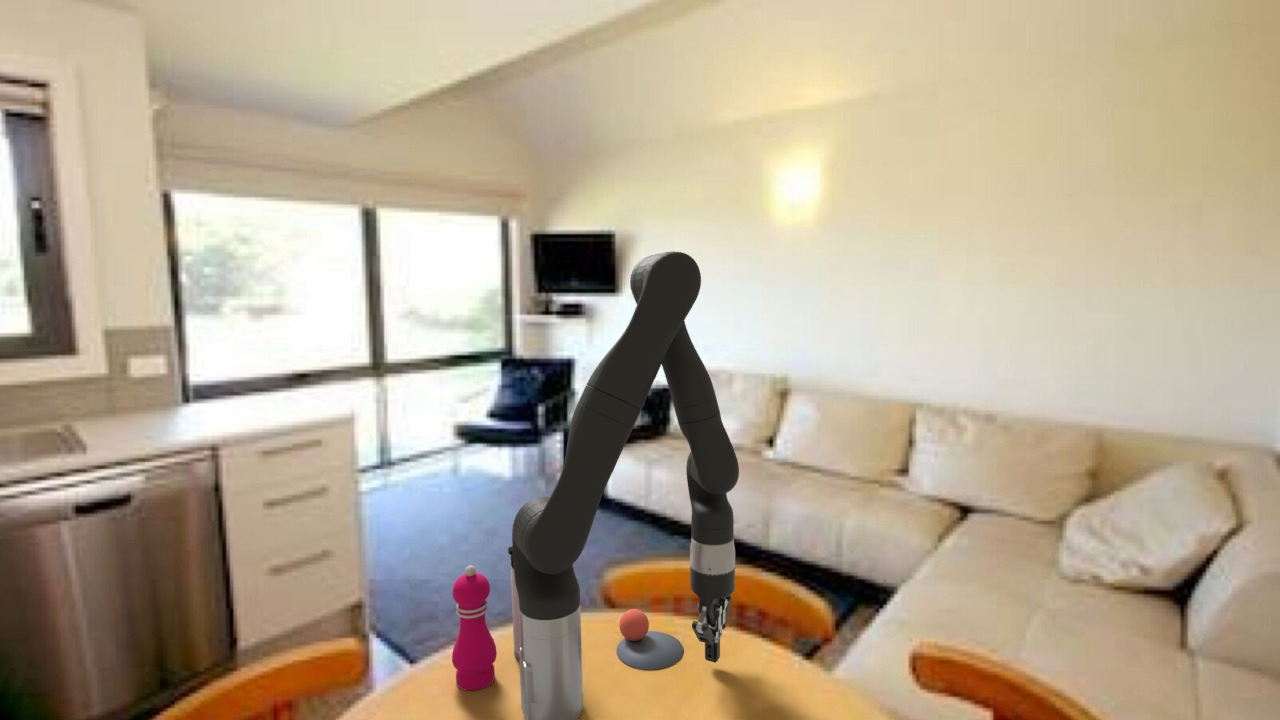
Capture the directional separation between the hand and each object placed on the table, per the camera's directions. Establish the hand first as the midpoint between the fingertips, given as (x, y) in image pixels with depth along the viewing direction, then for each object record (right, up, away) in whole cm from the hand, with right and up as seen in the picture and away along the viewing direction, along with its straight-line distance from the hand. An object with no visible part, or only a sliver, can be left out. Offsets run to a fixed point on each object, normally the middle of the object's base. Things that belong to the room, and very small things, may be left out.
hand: (712, 659), depth 111 cm
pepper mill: (-40, -3, -2) cm, 40 cm away
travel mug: (-32, -2, +6) cm, 33 cm away
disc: (-11, -1, +6) cm, 12 cm away
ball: (-14, +2, +9) cm, 16 cm away
